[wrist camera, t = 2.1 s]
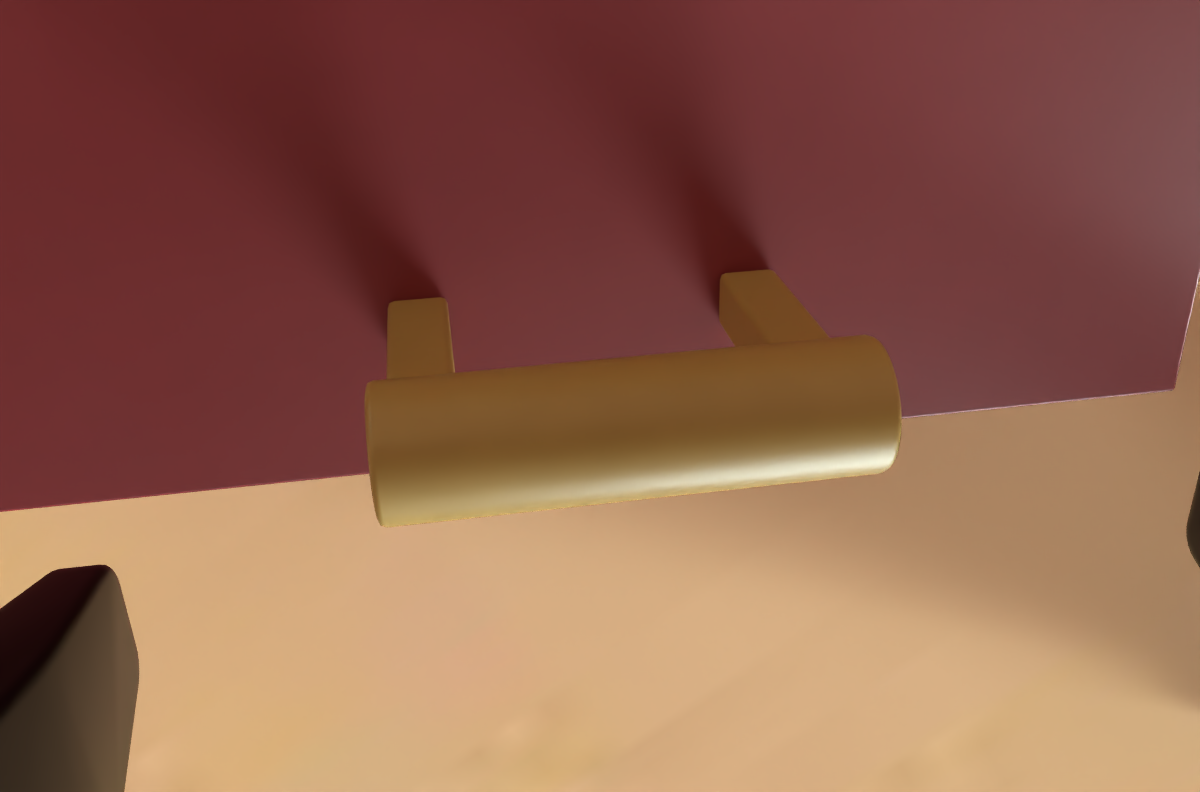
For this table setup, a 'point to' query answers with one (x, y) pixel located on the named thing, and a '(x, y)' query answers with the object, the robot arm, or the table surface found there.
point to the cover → (573, 238)
